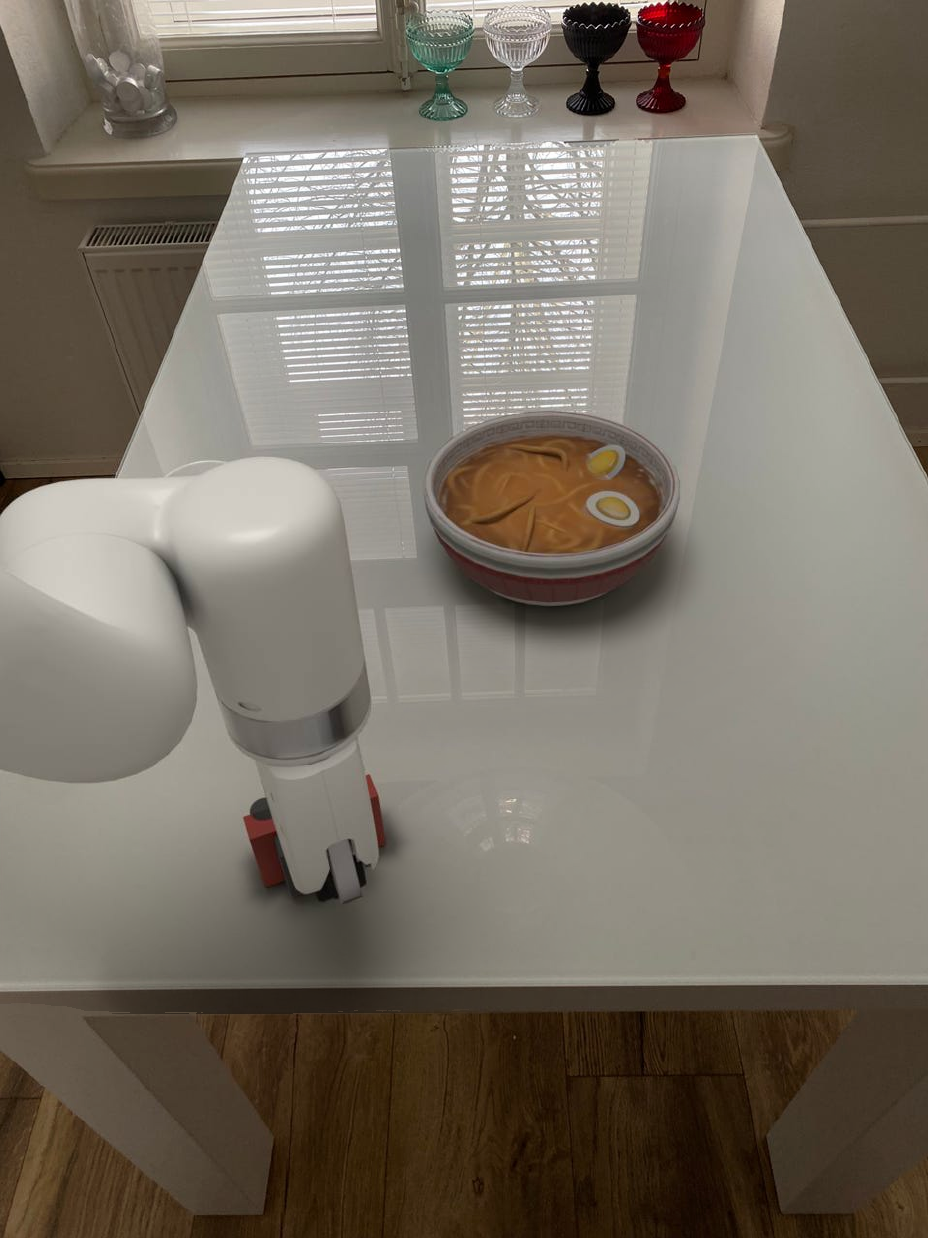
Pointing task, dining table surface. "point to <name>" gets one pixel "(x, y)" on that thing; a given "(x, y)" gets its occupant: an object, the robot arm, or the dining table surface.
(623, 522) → the bowl
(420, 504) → the dining table surface
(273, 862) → the toy car
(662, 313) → the dining table surface
